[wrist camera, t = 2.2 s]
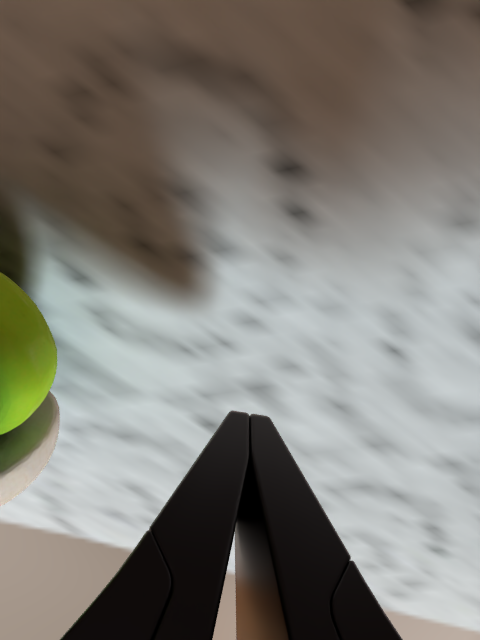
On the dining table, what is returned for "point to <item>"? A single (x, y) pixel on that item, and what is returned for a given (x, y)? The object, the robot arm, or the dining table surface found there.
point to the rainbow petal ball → (24, 391)
